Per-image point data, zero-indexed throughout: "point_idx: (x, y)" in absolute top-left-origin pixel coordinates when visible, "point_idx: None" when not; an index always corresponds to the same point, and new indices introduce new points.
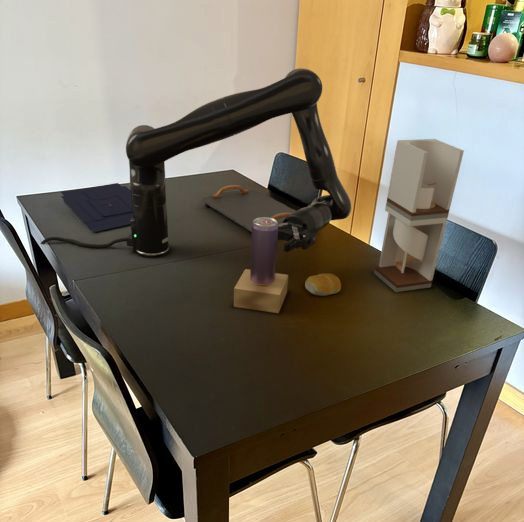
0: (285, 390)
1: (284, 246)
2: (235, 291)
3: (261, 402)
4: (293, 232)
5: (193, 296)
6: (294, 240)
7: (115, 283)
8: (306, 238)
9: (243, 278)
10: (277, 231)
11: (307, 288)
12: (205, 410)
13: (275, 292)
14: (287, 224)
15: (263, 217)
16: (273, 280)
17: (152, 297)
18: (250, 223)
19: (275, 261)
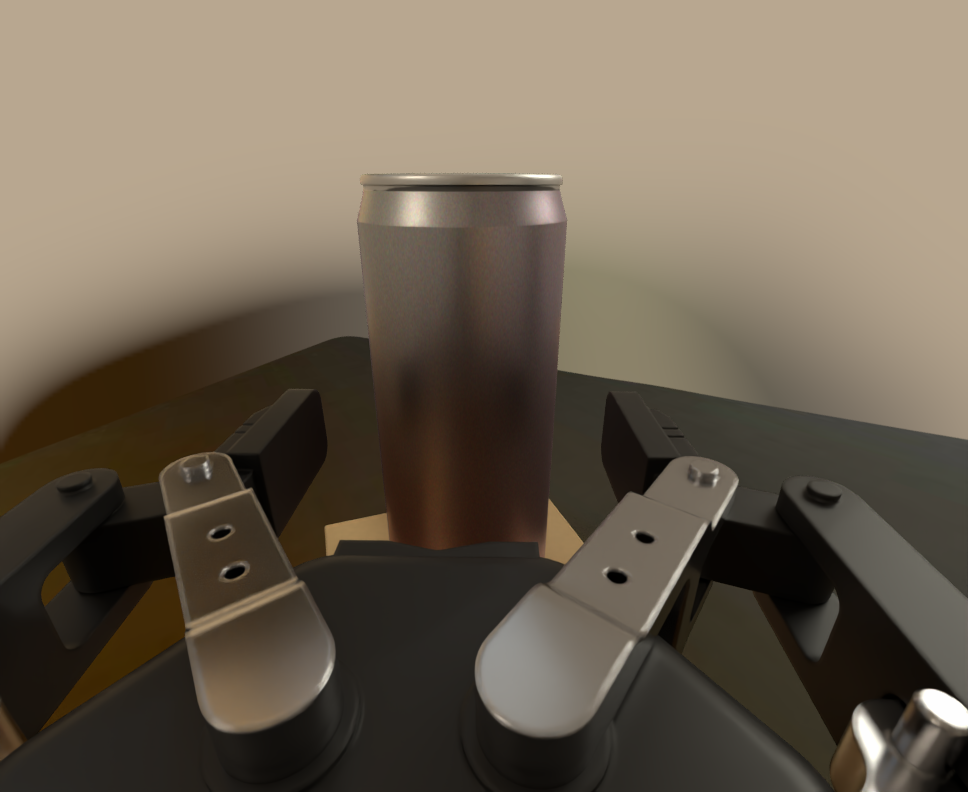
0: (244, 402)
1: (321, 408)
2: None
3: (285, 380)
4: (258, 503)
5: None
6: (233, 456)
7: (946, 479)
8: (45, 506)
9: (571, 553)
10: (360, 250)
11: None
12: (366, 357)
13: (351, 529)
14: (475, 670)
15: (528, 175)
16: None
17: (776, 478)
18: None
19: (382, 470)
